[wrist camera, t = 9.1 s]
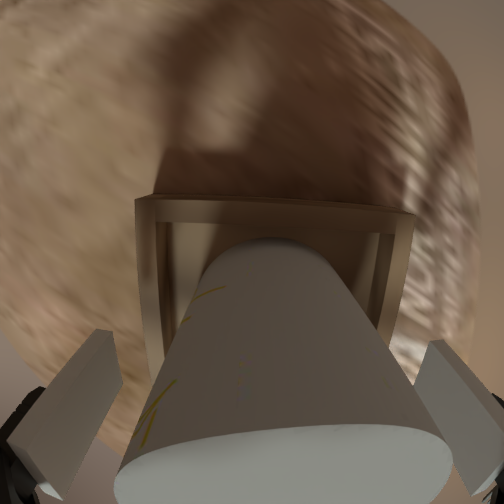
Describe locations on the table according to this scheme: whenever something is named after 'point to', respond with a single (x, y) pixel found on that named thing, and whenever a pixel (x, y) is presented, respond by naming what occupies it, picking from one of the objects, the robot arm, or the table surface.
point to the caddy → (257, 226)
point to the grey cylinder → (280, 396)
